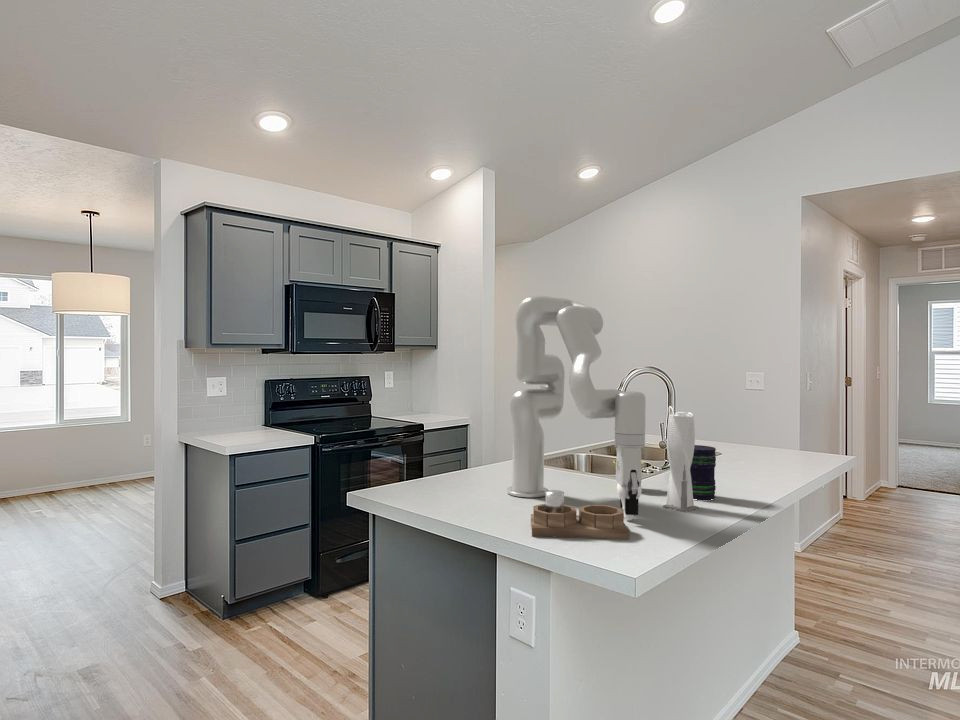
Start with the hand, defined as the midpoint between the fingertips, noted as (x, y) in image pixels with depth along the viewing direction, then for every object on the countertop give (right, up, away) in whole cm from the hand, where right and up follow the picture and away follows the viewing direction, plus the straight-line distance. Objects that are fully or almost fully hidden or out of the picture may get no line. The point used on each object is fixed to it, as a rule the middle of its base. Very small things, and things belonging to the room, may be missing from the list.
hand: (629, 510), depth 150 cm
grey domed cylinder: (-20, 0, -9) cm, 22 cm away
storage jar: (+28, -3, +27) cm, 39 cm away
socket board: (-15, -2, -9) cm, 17 cm away
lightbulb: (0, -3, 0) cm, 3 cm away
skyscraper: (+18, -3, +15) cm, 24 cm away
